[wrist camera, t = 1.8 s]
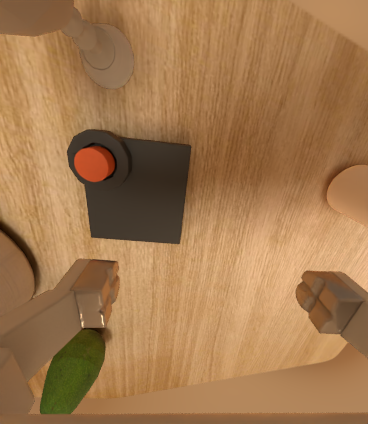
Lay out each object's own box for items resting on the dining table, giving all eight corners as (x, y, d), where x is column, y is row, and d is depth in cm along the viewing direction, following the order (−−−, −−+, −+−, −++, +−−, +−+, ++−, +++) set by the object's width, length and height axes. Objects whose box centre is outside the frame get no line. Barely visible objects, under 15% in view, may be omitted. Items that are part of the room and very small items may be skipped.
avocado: (86, 313, 33) (40, 405, 22) (120, 333, 35) (94, 424, 24) (60, 332, 35) (7, 425, 24) (94, 349, 37) (59, 440, 27)
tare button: (82, 144, 18) (71, 146, 16) (114, 147, 19) (107, 149, 17) (86, 175, 20) (76, 180, 18) (116, 178, 20) (109, 183, 18)
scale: (78, 126, 20) (62, 126, 17) (191, 139, 21) (193, 141, 18) (91, 231, 26) (81, 244, 23) (179, 238, 27) (179, 251, 24)
